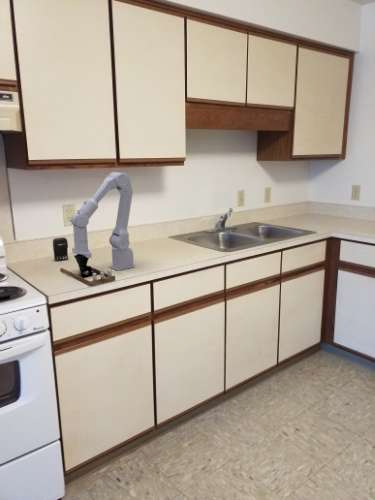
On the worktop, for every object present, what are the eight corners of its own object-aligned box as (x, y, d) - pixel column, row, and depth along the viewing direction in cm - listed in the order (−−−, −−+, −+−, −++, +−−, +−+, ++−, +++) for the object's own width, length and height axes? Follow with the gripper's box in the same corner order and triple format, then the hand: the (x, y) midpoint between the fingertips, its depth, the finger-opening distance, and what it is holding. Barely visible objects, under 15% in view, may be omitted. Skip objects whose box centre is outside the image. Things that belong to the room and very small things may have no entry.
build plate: (77, 281, 167) (76, 271, 166) (69, 277, 172) (68, 267, 171) (102, 275, 176) (102, 265, 175) (94, 271, 181) (93, 262, 180)
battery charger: (55, 262, 195) (53, 239, 192) (53, 260, 198) (51, 238, 196) (69, 260, 199) (68, 237, 196) (67, 258, 202) (65, 236, 199)
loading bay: (83, 266, 187) (83, 256, 186) (115, 280, 167) (115, 269, 165) (60, 271, 180) (59, 260, 179) (90, 286, 159) (90, 274, 158)
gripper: (64, 239, 175) (67, 268, 178) (80, 244, 164) (82, 275, 168) (79, 237, 179) (81, 265, 183) (95, 242, 169) (97, 272, 172)
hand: (82, 270), depth 175 cm, fingers closed
